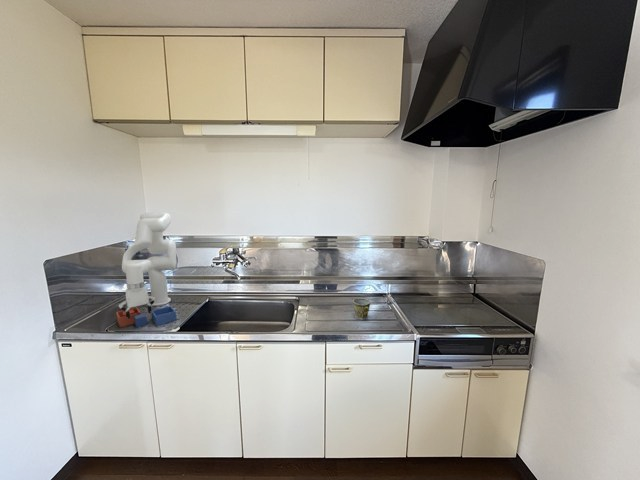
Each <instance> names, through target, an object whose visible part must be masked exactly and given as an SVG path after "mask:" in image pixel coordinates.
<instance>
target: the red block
mask: <svg viewBox="0 0 640 480" xmlns="http://www.w3.org/2000/svg"><path fill="white" fill-rule="evenodd" d="M122 313H123V316H126V312H122ZM129 313H130V315H131V314H135V312H134V311H133V310H129Z"/></svg>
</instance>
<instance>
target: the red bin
mask: <svg viewBox="0 0 640 480" xmlns="http://www.w3.org/2000/svg"><path fill="white" fill-rule="evenodd" d="M129 310H133V311H134V312H135V314H131V315H130V319H128V317H126V316H123V313H122V312H125V311H123V310H119V311H115V315H116V321H117V323H118V326H119V328H123V327H128V326H130V325H135V321H134V316H136V315H140V314H142V312H141V311H140V309H139V307H138V306H136V307H132V308H130V309H129Z"/></svg>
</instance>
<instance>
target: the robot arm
mask: <svg viewBox="0 0 640 480" xmlns="http://www.w3.org/2000/svg"><path fill="white" fill-rule="evenodd" d="M171 222H172V217H171V215H170V213H168V212H143V213H141V214H140V216H139V220H138V221H137V225H136V231H135V237H134V242H133V243H132V244H131V245H130V246H129V247H128V248H127V249H126V250H125V252H124V253H123V256H122V259H121V260H122V261H121V270H122V272H123V273H124V274H125V277H126V286H127V288H126V289H125V300H124V301H122V302H120V303H119V304H118V307H119V309H121V311H125V312H126V317H128V319H130V313H129V309H131V308H135V307H141V306H144V305H145V306H146V305H147V312H148V314H151V311H153V309H152V307H158V306H159V307H160V306H164V305H167V304H169V303H170V302H171V301H172V298H171V297H169V292H168V283H167V276H166V274H165V273H164V272H165V271H173V270H175V269H176V267H177V244H176V241H175V240H174V239H170V238H169V239H168V238H167V239H166V238H165V239H164V231H166V230H167V229H168V227H169V226H170V225H171ZM145 249H147V250H148V252H149V254H151V255H157V256H150V257H148V258H146V259H133V257H134V255H135V254H137V253H139V252H140V251H142V250H145ZM147 273H148V274H147ZM144 274H147V275H148V279H149V288H150V289H149V290H150V295H149V292H148V289H147V286H146V285H147V284H148V281H145V280H144V279H145V278H144ZM150 299H151V300H150ZM124 305H126V307H124Z"/></svg>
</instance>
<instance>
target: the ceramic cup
mask: <svg viewBox="0 0 640 480" xmlns="http://www.w3.org/2000/svg"><path fill="white" fill-rule="evenodd" d="M352 304H353V311H354V317H355V318H356V319H357V320H360V321H364V320H366V319H367V318H368V314H369V312H370V306H371V300H370V299H367V298H364V297H358V298H354V299H353V300H352Z"/></svg>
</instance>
